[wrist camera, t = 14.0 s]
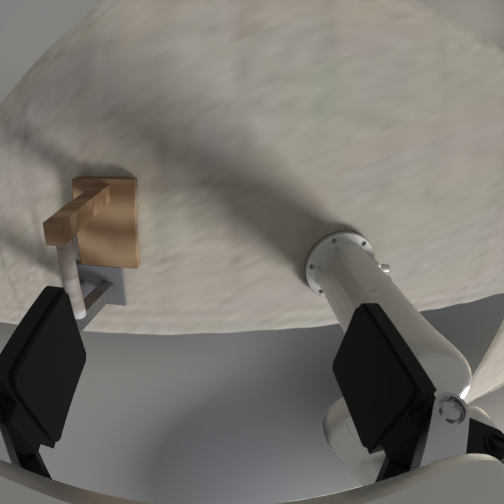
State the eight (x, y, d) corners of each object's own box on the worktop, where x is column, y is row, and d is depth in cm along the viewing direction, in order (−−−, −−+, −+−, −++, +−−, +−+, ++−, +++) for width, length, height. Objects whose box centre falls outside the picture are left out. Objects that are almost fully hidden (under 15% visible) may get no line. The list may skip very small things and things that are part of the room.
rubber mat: (121, 266, 44) (121, 267, 43) (126, 303, 47) (125, 305, 47) (64, 261, 42) (63, 263, 42) (72, 297, 45) (71, 299, 45)
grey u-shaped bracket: (113, 283, 44) (74, 323, 34) (115, 294, 45) (78, 335, 35) (79, 273, 44) (40, 308, 34) (82, 283, 45) (43, 319, 35)
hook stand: (75, 177, 36) (15, 215, 22) (136, 177, 38) (94, 216, 24) (84, 260, 42) (42, 322, 28) (139, 264, 44) (111, 332, 30)
